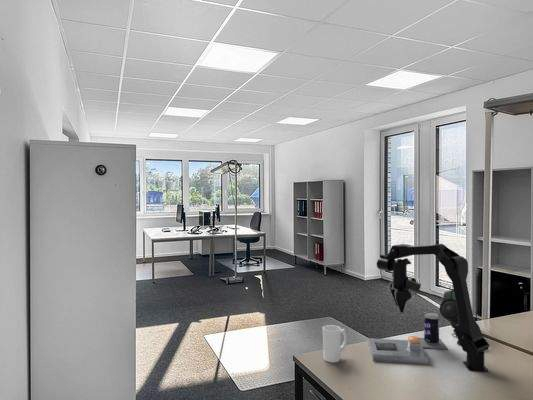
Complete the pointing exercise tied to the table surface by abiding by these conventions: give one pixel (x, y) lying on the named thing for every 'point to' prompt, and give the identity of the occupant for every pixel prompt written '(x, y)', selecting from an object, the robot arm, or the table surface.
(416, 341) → the peach dome cap
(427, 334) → the beverage can
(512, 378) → the table surface
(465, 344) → the robot arm
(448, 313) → the headset
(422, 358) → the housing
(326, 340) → the mug
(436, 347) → the pad
